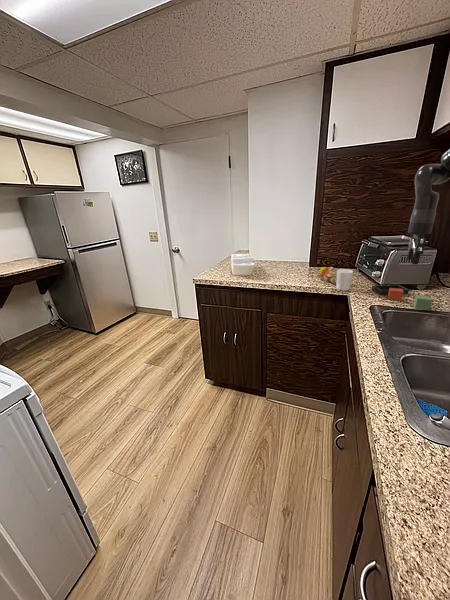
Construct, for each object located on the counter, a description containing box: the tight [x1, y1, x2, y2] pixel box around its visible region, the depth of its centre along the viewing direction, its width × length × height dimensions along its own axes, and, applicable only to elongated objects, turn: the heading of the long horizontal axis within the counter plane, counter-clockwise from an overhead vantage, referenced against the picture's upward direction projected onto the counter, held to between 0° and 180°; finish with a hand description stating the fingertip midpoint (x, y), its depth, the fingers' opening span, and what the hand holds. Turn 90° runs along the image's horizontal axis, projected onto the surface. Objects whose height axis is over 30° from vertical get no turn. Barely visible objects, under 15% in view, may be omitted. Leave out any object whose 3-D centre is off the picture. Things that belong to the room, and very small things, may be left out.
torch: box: [319, 266, 337, 285], centre depth 152 cm, size 8×8×25 cm
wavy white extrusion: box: [230, 253, 256, 276], centre depth 179 cm, size 35×16×10 cm, turn 178°
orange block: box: [387, 288, 404, 302], centre depth 118 cm, size 5×4×5 cm
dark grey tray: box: [370, 284, 410, 296], centre depth 127 cm, size 14×8×2 cm, turn 91°
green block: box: [412, 295, 433, 311], centre depth 108 cm, size 5×4×5 cm
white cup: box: [335, 268, 354, 292], centre depth 133 cm, size 8×8×10 cm
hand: (412, 261), depth 103 cm, fingers open, 8 cm apart
